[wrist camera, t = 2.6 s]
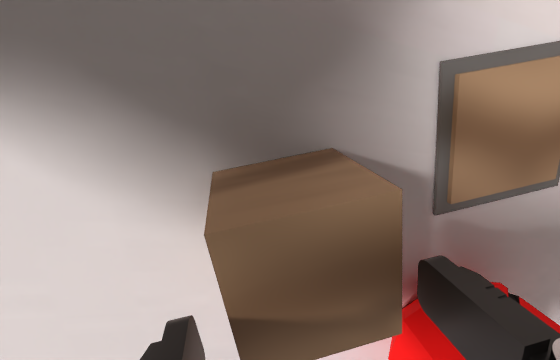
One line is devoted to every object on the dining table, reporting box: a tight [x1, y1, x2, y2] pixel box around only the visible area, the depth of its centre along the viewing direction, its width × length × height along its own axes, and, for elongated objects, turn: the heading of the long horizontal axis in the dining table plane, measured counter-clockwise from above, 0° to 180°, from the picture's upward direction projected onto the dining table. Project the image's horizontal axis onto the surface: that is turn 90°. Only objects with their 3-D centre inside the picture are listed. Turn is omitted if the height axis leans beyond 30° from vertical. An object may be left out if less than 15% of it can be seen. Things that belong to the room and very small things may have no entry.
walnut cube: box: [204, 148, 402, 360], centre depth 12 cm, size 6×6×6 cm
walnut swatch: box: [433, 41, 560, 215], centre depth 15 cm, size 8×8×1 cm
